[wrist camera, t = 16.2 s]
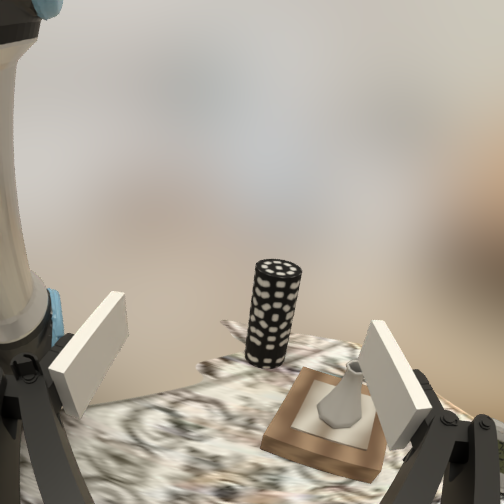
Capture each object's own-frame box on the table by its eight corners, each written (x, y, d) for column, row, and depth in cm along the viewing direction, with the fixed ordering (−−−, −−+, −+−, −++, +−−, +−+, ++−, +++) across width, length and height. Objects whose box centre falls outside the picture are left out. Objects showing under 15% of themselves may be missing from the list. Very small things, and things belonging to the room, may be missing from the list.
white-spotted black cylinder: (244, 342, 66) (254, 257, 59) (281, 344, 67) (297, 260, 60) (245, 367, 58) (256, 275, 52) (286, 369, 59) (306, 279, 52)
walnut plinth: (259, 448, 40) (263, 432, 39) (299, 381, 56) (303, 364, 54) (370, 483, 34) (382, 469, 32) (386, 407, 49) (395, 391, 48)
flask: (368, 421, 41) (391, 375, 38) (330, 435, 39) (351, 389, 35) (345, 392, 48) (363, 347, 44) (308, 403, 45) (323, 356, 42)
